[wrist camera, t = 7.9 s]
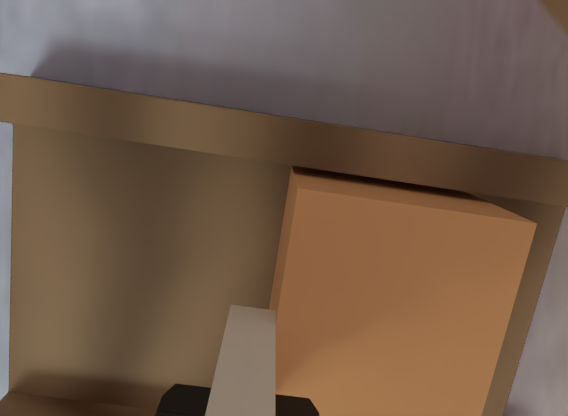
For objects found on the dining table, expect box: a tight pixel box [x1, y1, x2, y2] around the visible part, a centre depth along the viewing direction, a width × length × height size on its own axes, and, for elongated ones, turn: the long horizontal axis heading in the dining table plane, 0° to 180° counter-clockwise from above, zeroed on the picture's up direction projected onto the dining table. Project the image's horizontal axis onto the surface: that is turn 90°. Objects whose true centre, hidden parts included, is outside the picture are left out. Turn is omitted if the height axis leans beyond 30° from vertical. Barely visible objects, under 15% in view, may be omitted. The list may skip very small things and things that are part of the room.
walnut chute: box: [0, 73, 568, 416], centre depth 18 cm, size 22×15×4 cm
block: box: [269, 166, 537, 416], centre depth 16 cm, size 7×11×5 cm, turn 171°
